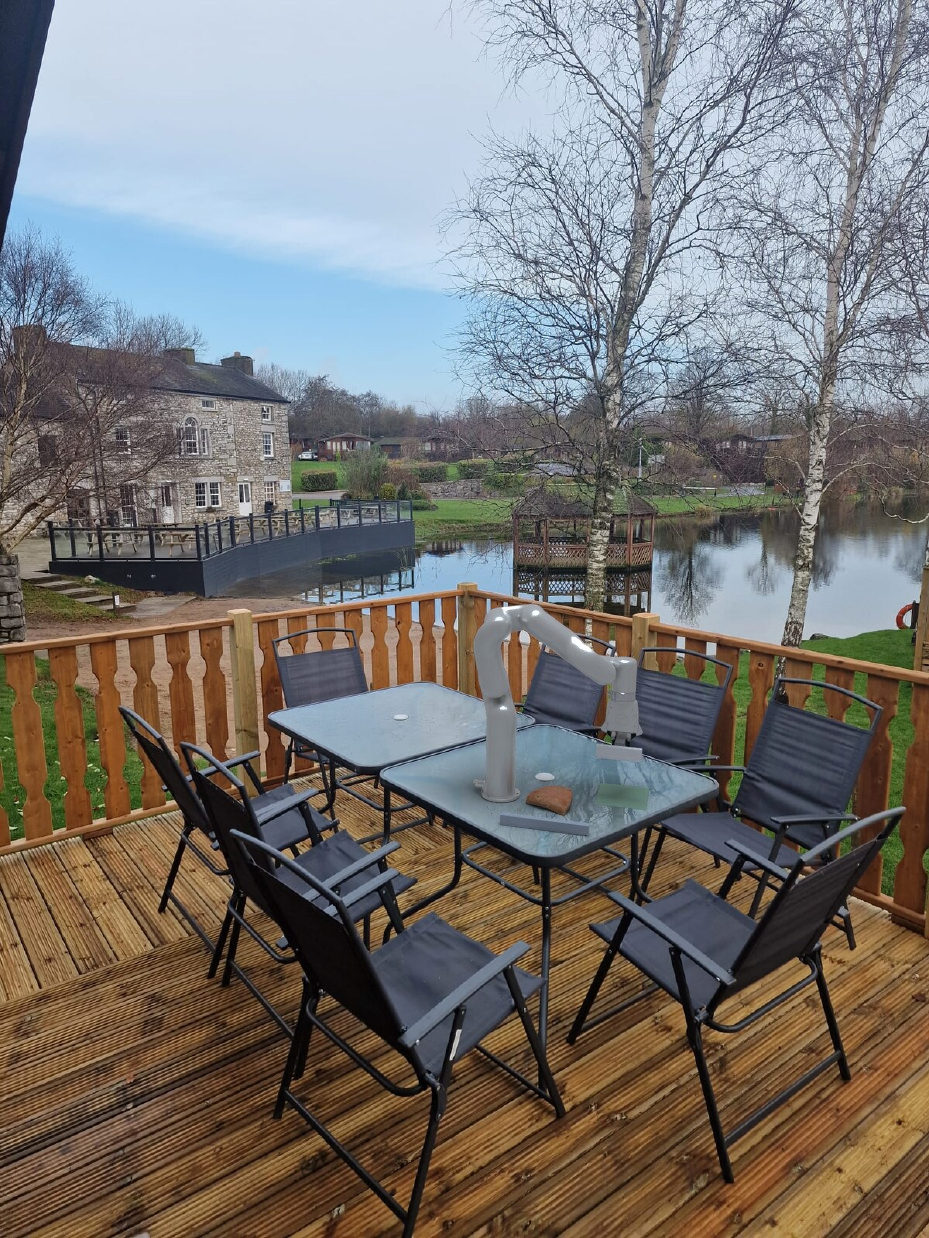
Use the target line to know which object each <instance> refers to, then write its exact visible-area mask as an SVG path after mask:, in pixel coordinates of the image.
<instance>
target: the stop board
mask: <svg viewBox="0 0 929 1238" xmlns="http://www.w3.org/2000/svg"><path fill="white" fill-rule="evenodd" d="M499 824H500V825H503V826H508V827H509V826H510V827H517V828H525V829H532V830H540V831H548V832H555V833H562V834H569V835H570V834H571V835H577V836H578V835H579V836H584V835H588V836H589V835H590V822H581V821H575V820H574V821H573V820H566V819H558V818H553V817H552V818H550V817H544V816H536V815H535V816H534V815H527V814H526V815H525V814H519V813H511V812H503V811H501V813H500V814H499Z"/></svg>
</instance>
